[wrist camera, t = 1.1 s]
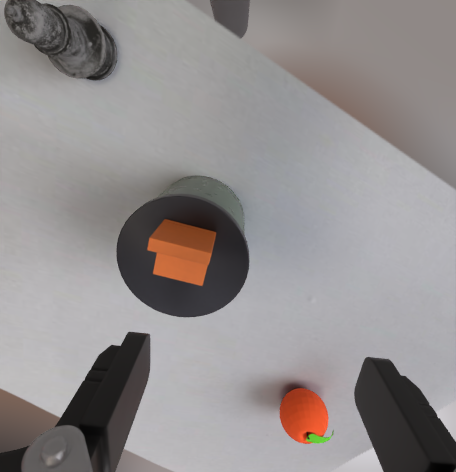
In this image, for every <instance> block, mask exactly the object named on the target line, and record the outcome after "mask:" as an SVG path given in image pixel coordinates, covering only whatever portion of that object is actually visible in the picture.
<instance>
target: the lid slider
mask: <svg viewBox="0 0 456 472" xmlns="http://www.w3.org/2000/svg"><path fill="white" fill-rule="evenodd" d="M215 236H216V232H214V231H210V230H206V229H202V228H198V227H195V226H191V225H187V224H183V223H179V222H175V221H171V220H167V219H164V220H163V222H162V223H161V224H160V225H159V227H158V228H157V229H156V230H155V232H154V233H153V234H152V235H151V237H150V238H149V243H148V248H147V250H149V251H153V252H157V255H156V260H155V265H154V270H153V274H155V275H159V276H164V277H168V278H172V279H176V280H180V281H184V282H188V283H192V284H196V285H200V286H202V285H203V282H204V278H205V274H206V270H207V266H208V265H209V262H210V258H211V254H212V250H213V245H214V241H215Z"/></svg>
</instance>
